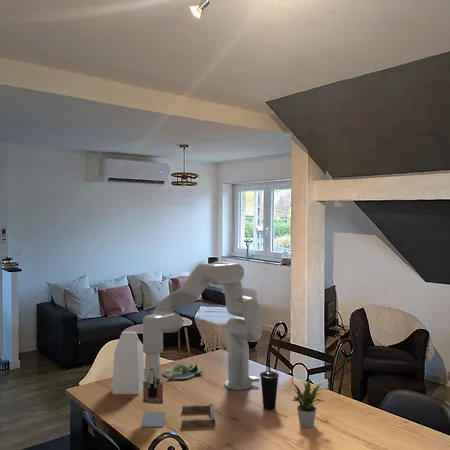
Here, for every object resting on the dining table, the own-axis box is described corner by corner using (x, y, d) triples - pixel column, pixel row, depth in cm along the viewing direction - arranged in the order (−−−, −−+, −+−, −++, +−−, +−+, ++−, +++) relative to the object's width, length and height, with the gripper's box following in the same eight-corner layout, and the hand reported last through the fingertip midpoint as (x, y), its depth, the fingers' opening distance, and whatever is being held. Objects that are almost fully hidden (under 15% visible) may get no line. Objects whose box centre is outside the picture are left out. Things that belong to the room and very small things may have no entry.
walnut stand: (213, 410, 181) (213, 404, 181) (215, 426, 167) (215, 419, 167) (182, 411, 180) (182, 405, 180) (181, 427, 166) (181, 420, 166)
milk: (144, 384, 209) (144, 328, 209) (139, 394, 198) (139, 335, 197) (119, 384, 210) (118, 328, 209) (112, 393, 198) (111, 335, 198)
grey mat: (164, 413, 179) (164, 412, 179) (162, 427, 167) (162, 426, 167) (144, 413, 178) (144, 412, 178) (141, 427, 166) (141, 426, 166)
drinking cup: (278, 412, 179) (278, 362, 179) (258, 410, 181) (258, 361, 180) (279, 404, 187) (279, 356, 186) (261, 403, 188) (261, 355, 188)
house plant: (334, 433, 162) (334, 388, 161) (297, 436, 160) (297, 390, 159) (319, 416, 176) (319, 374, 176) (285, 418, 174) (285, 376, 173)
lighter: (164, 401, 173) (164, 375, 173) (161, 404, 170) (161, 378, 170) (144, 399, 175) (144, 373, 175) (141, 402, 172) (141, 376, 171)
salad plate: (179, 385, 209) (179, 375, 209) (153, 377, 220) (153, 367, 220) (206, 374, 224) (206, 364, 224) (181, 366, 235) (181, 357, 235)
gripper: (145, 341, 180) (145, 387, 180) (140, 354, 163) (140, 404, 164) (164, 341, 181) (164, 386, 181) (161, 353, 164) (161, 403, 164)
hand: (153, 394), depth 172 cm, fingers closed on lighter, 4 cm apart
